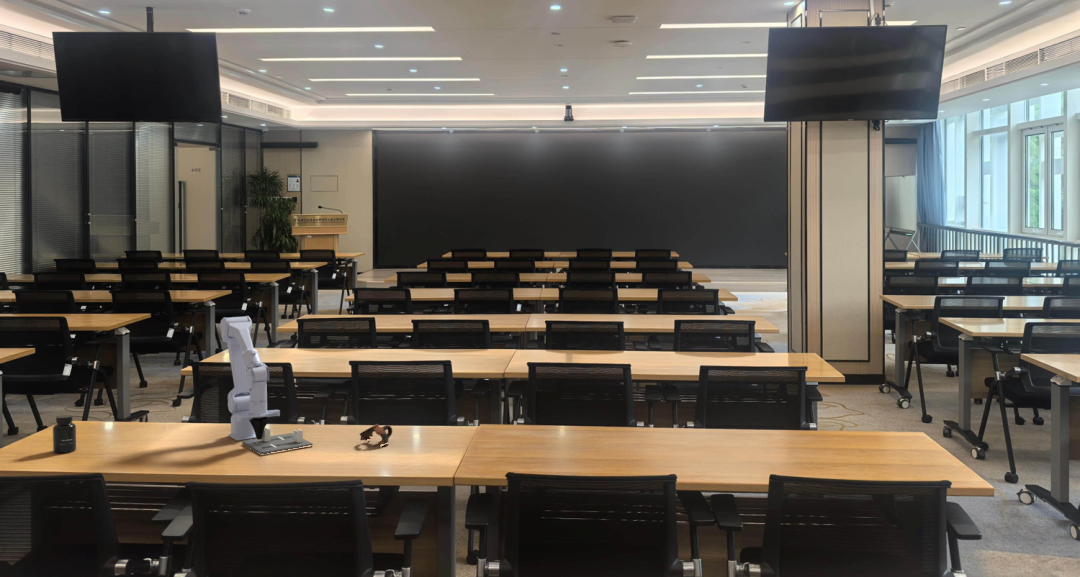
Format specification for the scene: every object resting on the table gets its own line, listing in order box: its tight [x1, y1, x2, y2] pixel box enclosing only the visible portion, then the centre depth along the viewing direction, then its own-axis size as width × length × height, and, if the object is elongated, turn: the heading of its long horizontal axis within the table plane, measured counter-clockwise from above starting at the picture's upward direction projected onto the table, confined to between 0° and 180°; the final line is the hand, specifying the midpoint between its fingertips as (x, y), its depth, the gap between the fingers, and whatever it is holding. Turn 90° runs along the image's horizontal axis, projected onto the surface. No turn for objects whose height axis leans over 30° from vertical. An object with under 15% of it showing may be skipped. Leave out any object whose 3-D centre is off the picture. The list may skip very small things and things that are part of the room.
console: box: [241, 432, 313, 454], centre depth 286 cm, size 18×18×1 cm
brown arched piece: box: [359, 423, 393, 445], centre depth 290 cm, size 12×10×8 cm
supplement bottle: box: [52, 414, 77, 455], centre depth 277 cm, size 7×7×12 cm
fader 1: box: [262, 427, 271, 442], centre depth 288 cm, size 3×2×4 cm, turn 40°
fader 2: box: [293, 428, 304, 443], centre depth 287 cm, size 3×2×4 cm, turn 40°
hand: (259, 438), depth 286 cm, fingers closed
